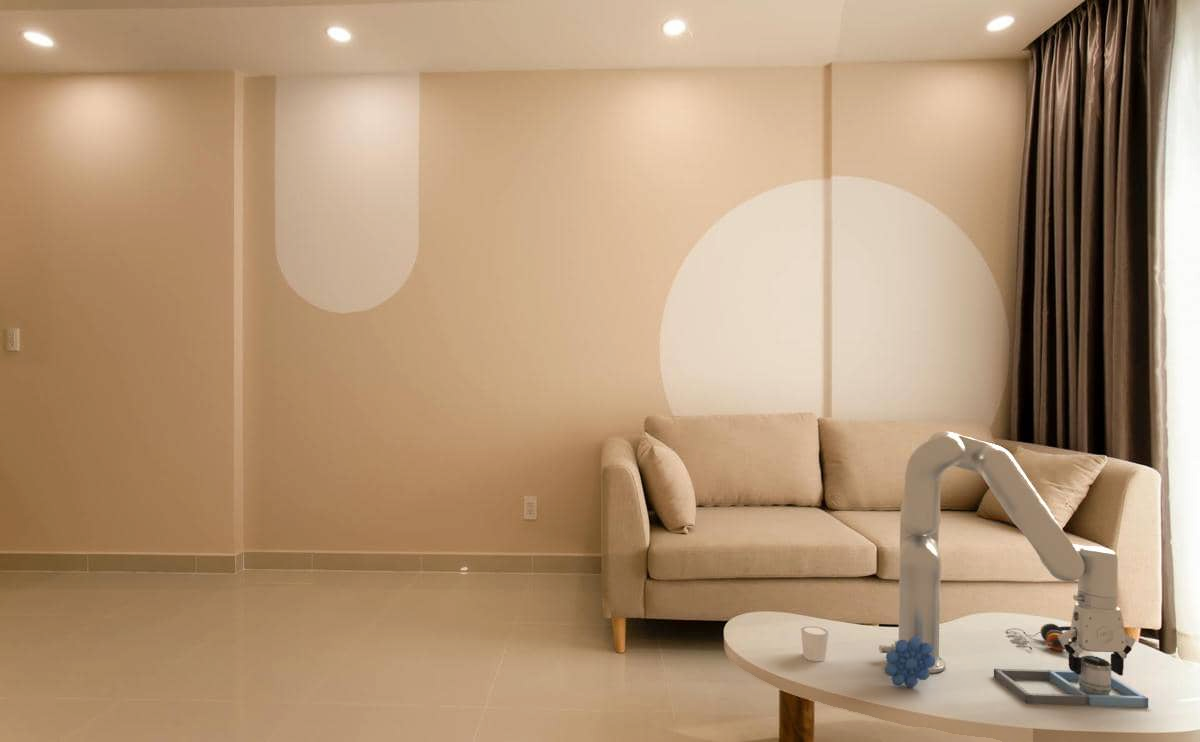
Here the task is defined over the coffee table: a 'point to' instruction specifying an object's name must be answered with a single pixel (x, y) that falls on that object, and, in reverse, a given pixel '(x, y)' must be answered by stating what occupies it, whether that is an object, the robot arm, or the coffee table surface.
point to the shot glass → (814, 643)
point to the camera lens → (1095, 676)
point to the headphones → (1044, 636)
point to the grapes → (909, 662)
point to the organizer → (1067, 689)
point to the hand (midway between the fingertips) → (1095, 672)
